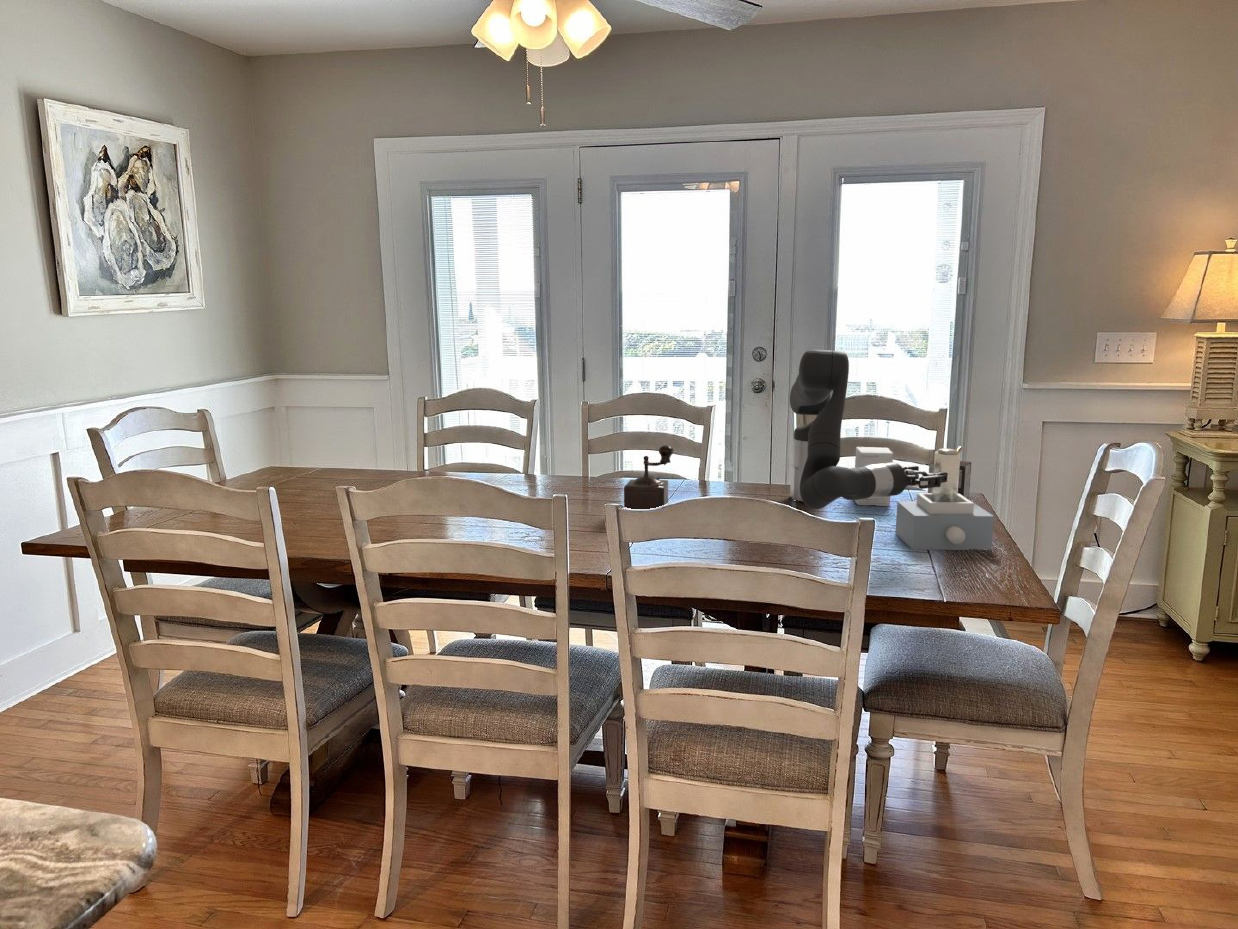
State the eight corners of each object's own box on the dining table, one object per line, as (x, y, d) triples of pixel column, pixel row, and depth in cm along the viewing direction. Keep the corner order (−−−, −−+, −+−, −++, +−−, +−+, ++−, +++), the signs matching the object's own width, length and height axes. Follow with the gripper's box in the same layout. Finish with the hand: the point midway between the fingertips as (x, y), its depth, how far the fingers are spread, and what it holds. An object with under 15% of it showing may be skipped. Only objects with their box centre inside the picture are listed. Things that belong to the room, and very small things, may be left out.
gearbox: (916, 553, 207) (919, 508, 205) (895, 533, 224) (898, 491, 222) (996, 554, 207) (1000, 508, 205) (969, 533, 224) (972, 491, 222)
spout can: (944, 511, 212) (949, 450, 209) (925, 506, 216) (930, 447, 214) (967, 508, 215) (971, 448, 212) (948, 503, 220) (952, 444, 217)
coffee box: (967, 524, 233) (972, 461, 229) (961, 529, 227) (966, 465, 224) (931, 519, 238) (935, 457, 234) (924, 524, 232) (928, 461, 229)
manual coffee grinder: (665, 525, 232) (666, 454, 228) (622, 522, 234) (623, 453, 230) (674, 510, 247) (674, 444, 243) (633, 508, 249) (633, 442, 245)
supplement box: (856, 505, 252) (859, 452, 249) (852, 498, 260) (855, 446, 257) (890, 506, 251) (893, 452, 248) (885, 499, 259) (888, 446, 256)
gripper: (904, 469, 197) (957, 462, 204) (857, 458, 209) (909, 452, 217) (902, 503, 198) (955, 495, 206) (856, 490, 210) (907, 483, 218)
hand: (931, 473), depth 211 cm, fingers open, 8 cm apart
